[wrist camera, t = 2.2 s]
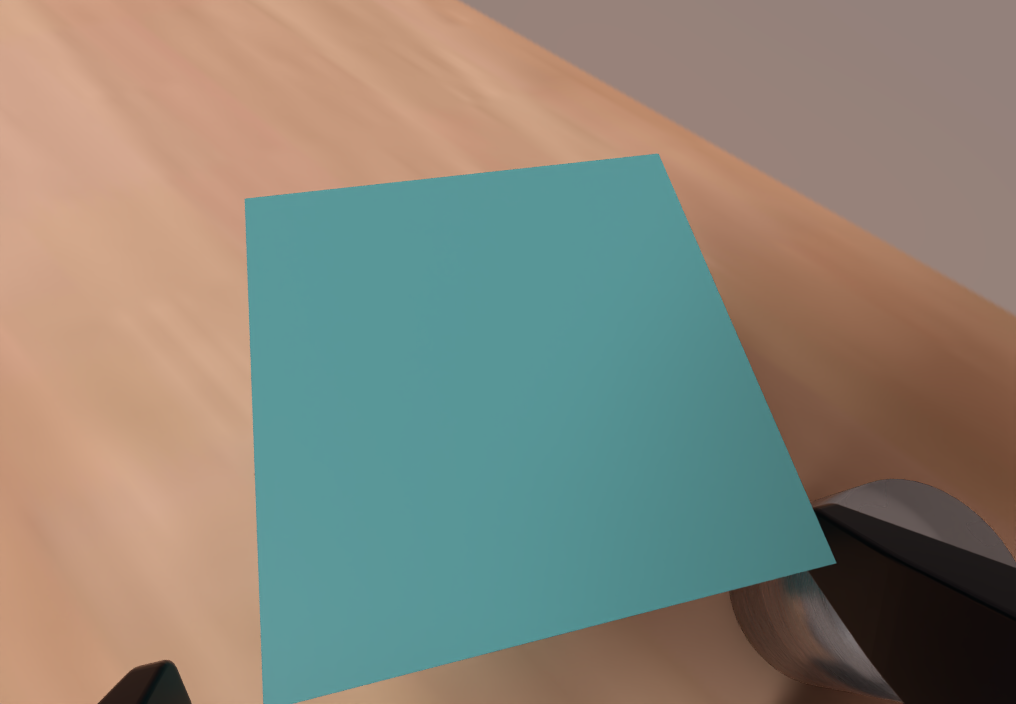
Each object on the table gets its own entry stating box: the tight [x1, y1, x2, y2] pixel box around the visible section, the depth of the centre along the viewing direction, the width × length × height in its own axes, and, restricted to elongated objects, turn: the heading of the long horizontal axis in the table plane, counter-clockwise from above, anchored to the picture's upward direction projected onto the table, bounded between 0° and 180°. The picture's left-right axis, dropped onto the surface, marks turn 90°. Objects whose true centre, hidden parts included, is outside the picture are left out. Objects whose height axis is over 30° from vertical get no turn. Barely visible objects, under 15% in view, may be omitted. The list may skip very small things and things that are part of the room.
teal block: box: [245, 154, 836, 704], centre depth 12 cm, size 5×5×13 cm
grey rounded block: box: [729, 479, 1016, 703], centre depth 15 cm, size 5×5×5 cm
